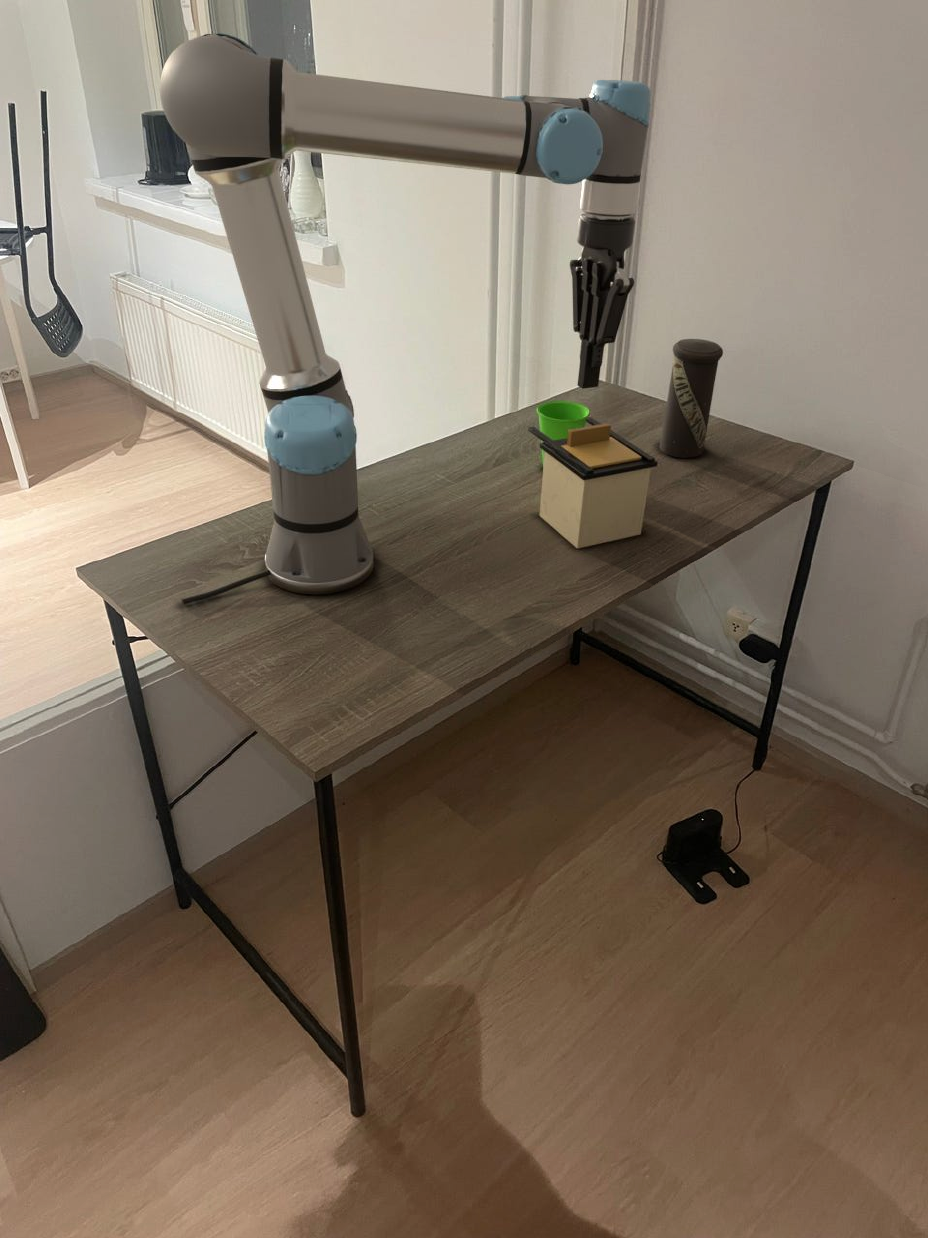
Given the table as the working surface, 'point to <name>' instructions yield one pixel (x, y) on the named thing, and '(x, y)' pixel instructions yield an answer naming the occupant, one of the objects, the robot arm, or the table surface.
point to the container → (689, 397)
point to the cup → (560, 419)
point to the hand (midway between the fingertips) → (587, 385)
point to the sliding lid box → (593, 493)
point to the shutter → (597, 446)
